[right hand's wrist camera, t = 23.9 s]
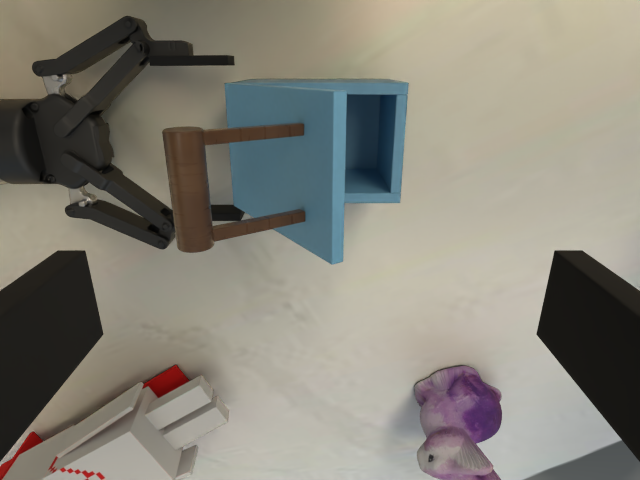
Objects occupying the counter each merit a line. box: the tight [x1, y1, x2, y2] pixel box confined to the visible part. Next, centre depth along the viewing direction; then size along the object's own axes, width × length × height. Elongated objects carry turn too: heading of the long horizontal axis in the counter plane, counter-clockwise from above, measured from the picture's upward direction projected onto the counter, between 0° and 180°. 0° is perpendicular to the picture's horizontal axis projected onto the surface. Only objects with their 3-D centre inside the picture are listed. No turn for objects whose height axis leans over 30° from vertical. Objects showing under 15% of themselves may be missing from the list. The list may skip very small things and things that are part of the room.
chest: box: [233, 79, 409, 203], centre depth 41 cm, size 14×10×11 cm
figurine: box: [415, 366, 502, 480], centre depth 51 cm, size 9×10×15 cm
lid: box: [162, 83, 347, 264], centre depth 28 cm, size 14×10×9 cm
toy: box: [0, 365, 229, 480], centre depth 55 cm, size 12×13×30 cm
